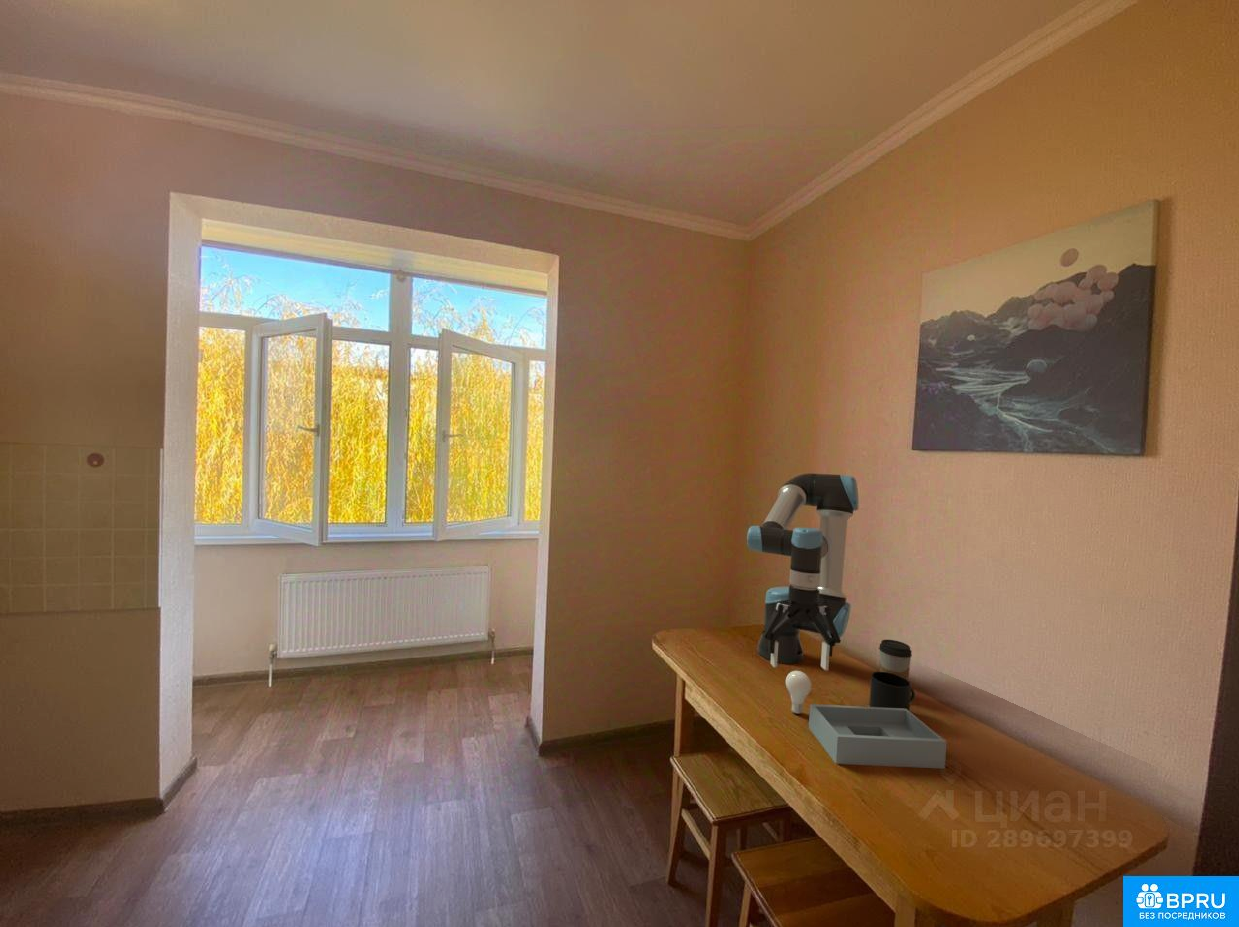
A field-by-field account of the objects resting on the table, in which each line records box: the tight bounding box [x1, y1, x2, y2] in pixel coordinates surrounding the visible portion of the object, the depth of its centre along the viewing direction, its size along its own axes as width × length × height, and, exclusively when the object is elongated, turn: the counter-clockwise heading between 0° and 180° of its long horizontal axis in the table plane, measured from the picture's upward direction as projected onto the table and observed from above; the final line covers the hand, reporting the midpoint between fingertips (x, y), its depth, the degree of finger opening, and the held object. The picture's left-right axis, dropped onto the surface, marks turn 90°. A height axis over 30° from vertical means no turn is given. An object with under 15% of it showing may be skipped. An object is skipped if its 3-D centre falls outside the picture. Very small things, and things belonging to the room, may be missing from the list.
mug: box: [869, 671, 916, 712], centre depth 128 cm, size 9×12×9 cm
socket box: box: [808, 703, 947, 770], centre depth 111 cm, size 14×24×6 cm, turn 91°
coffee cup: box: [878, 639, 912, 681], centre depth 138 cm, size 8×8×15 cm
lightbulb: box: [785, 670, 812, 715], centre depth 125 cm, size 6×6×11 cm
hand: (799, 667), depth 124 cm, fingers open, 13 cm apart
